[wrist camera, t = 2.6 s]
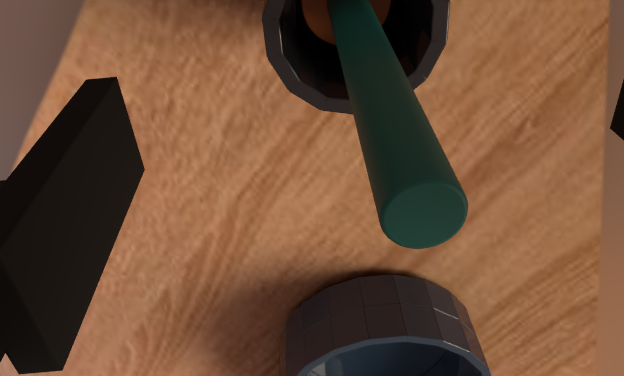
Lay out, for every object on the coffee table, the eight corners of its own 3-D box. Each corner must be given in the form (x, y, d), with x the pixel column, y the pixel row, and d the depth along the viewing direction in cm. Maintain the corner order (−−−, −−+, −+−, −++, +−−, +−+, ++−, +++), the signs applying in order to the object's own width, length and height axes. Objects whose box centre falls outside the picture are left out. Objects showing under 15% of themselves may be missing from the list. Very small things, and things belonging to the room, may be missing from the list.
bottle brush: (373, -71, 24) (543, 118, 8) (373, 8, 26) (510, 280, 10) (295, -65, 24) (317, 137, 8) (301, 14, 26) (329, 296, 10)
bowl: (478, 260, 37) (508, 327, 32) (459, 386, 45) (481, 454, 40) (270, 278, 37) (267, 347, 32) (290, 400, 45) (291, 470, 40)
